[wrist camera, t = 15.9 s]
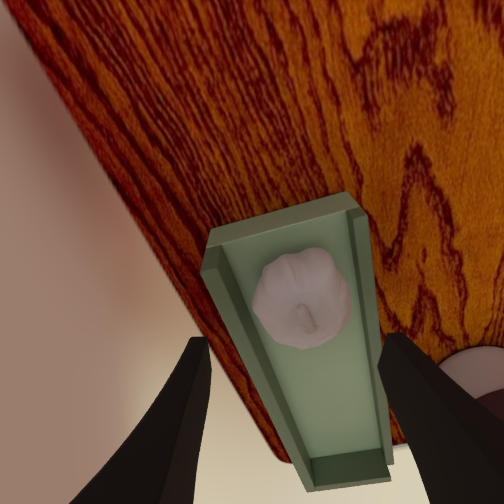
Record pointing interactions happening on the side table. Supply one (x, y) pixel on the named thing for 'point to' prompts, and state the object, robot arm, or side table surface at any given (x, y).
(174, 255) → the side table surface
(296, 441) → the tray
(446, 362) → the coffee cup
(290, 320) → the garlic
